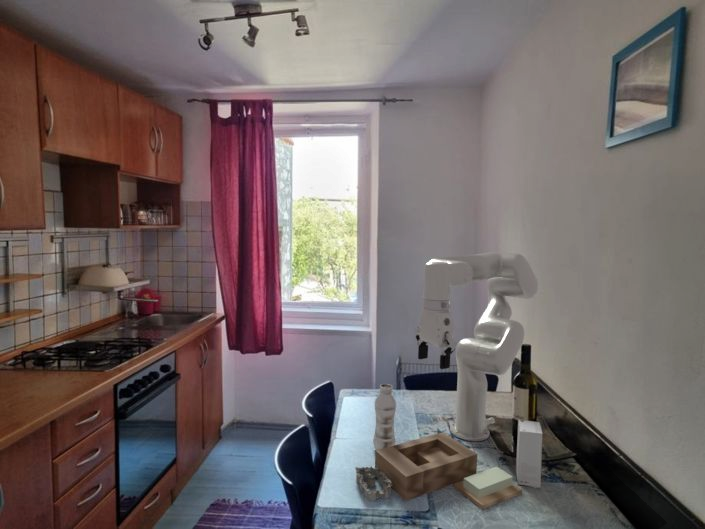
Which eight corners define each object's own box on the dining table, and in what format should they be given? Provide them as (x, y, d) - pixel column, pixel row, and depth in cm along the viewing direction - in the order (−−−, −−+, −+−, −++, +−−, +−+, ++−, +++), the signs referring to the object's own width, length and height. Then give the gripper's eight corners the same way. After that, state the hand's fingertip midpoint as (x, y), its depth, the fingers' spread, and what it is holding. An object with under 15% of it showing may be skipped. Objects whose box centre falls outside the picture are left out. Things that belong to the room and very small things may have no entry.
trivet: (492, 473, 122) (492, 470, 122) (521, 493, 113) (522, 489, 113) (453, 487, 115) (454, 483, 115) (482, 509, 106) (482, 505, 106)
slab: (496, 474, 120) (496, 466, 119) (512, 485, 115) (512, 476, 115) (463, 486, 114) (463, 478, 113) (478, 498, 109) (479, 489, 109)
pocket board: (442, 452, 132) (443, 432, 132) (476, 476, 120) (477, 454, 120) (374, 472, 121) (375, 450, 120) (404, 501, 109) (406, 476, 108)
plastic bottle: (393, 457, 129) (396, 391, 127) (371, 454, 130) (373, 388, 129) (396, 446, 135) (398, 383, 134) (374, 443, 137) (376, 381, 135)
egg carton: (393, 500, 109) (394, 484, 109) (364, 504, 108) (365, 488, 107) (380, 475, 120) (380, 461, 119) (353, 478, 118) (354, 464, 118)
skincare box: (540, 489, 115) (544, 434, 114) (516, 484, 117) (519, 431, 116) (537, 472, 123) (541, 421, 122) (514, 468, 125) (517, 417, 124)
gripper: (467, 309, 120) (464, 370, 122) (427, 299, 135) (424, 353, 137) (446, 311, 117) (443, 374, 118) (407, 300, 131) (405, 356, 133)
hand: (433, 363), depth 127 cm, fingers open, 9 cm apart
